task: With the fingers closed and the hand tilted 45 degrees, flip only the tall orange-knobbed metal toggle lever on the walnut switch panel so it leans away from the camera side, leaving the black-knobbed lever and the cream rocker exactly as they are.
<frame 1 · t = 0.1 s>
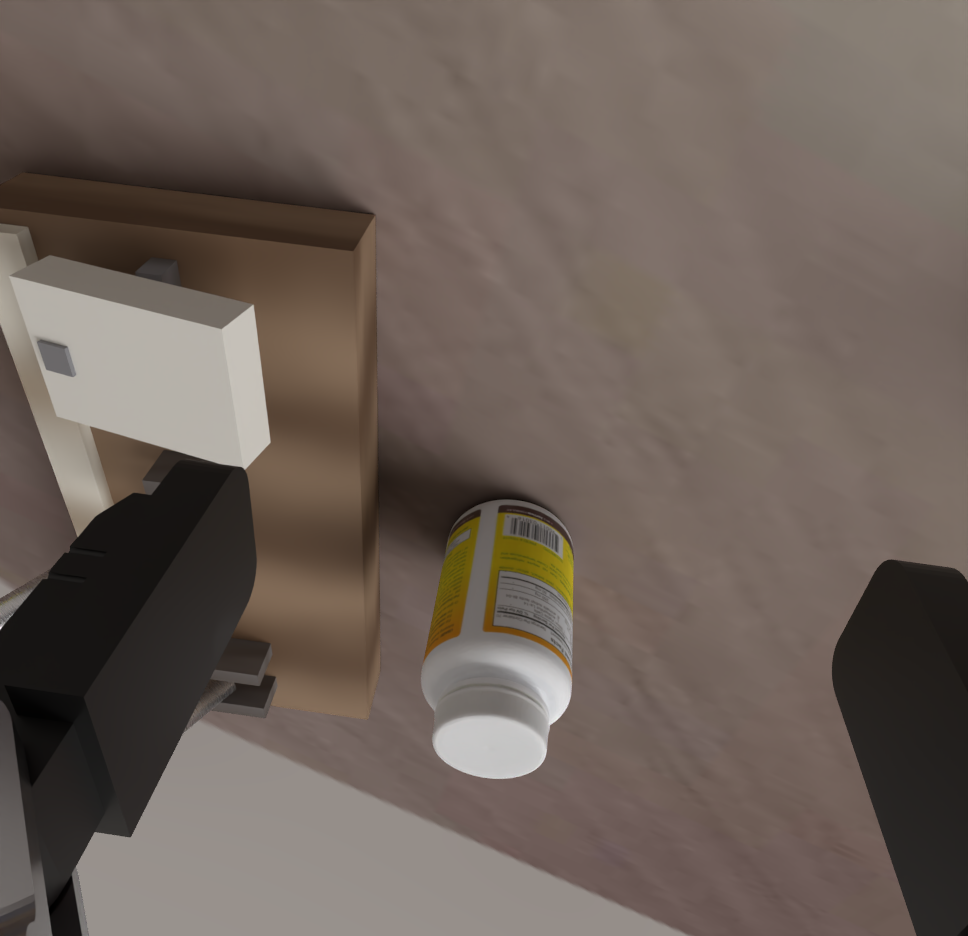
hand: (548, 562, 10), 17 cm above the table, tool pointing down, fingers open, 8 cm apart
supplement bottle: (512, 536, 34), on the table
panel: (243, 479, 33), on the table
rocker: (146, 365, 23), point 5 cm above the table, hinge at 12.0°
lever black: (10, 614, 24), point 10 cm above the table, hinge at -30.0°
lever orange: (94, 787, 31), point 10 cm above the table, hinge at -30.0°
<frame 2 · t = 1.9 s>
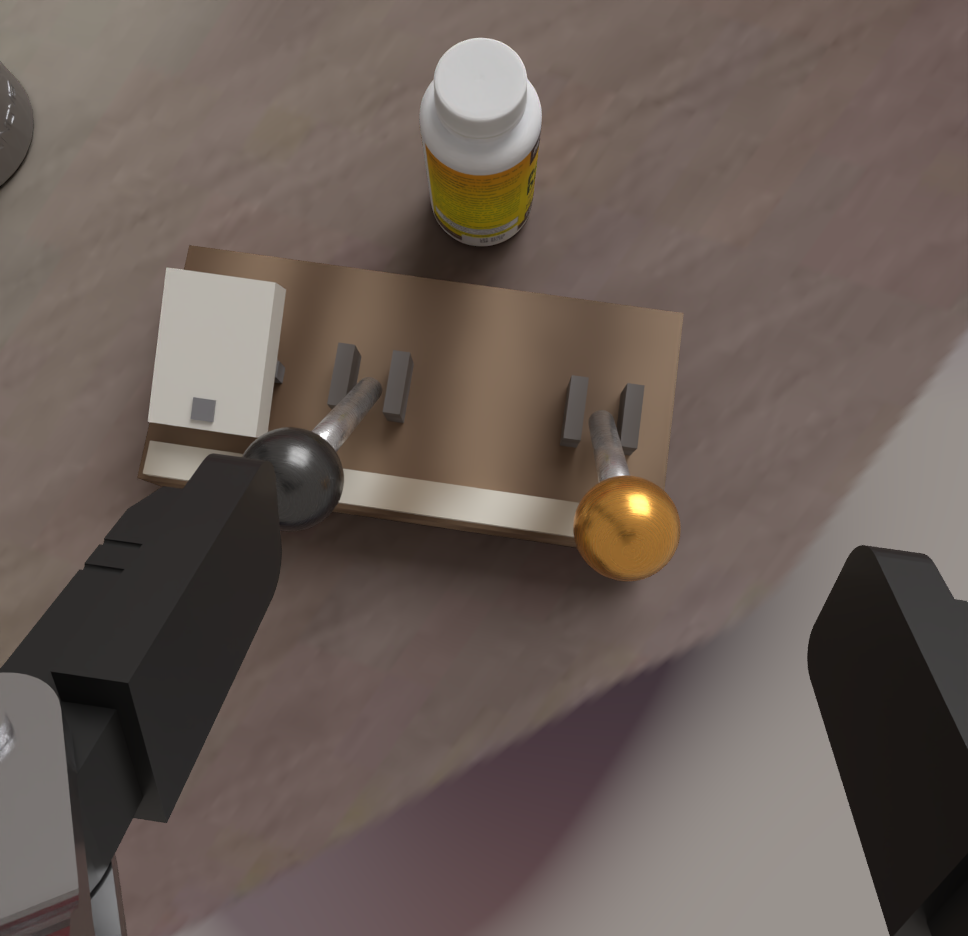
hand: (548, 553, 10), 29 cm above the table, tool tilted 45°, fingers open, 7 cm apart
supplement bottle: (481, 205, 42), on the table
panel: (420, 409, 40), on the table
rocker: (217, 354, 35), point 5 cm above the table, hinge at 12.0°
lever black: (331, 432, 29), point 10 cm above the table, hinge at -30.0°
lever orange: (613, 473, 29), point 10 cm above the table, hinge at -30.0°
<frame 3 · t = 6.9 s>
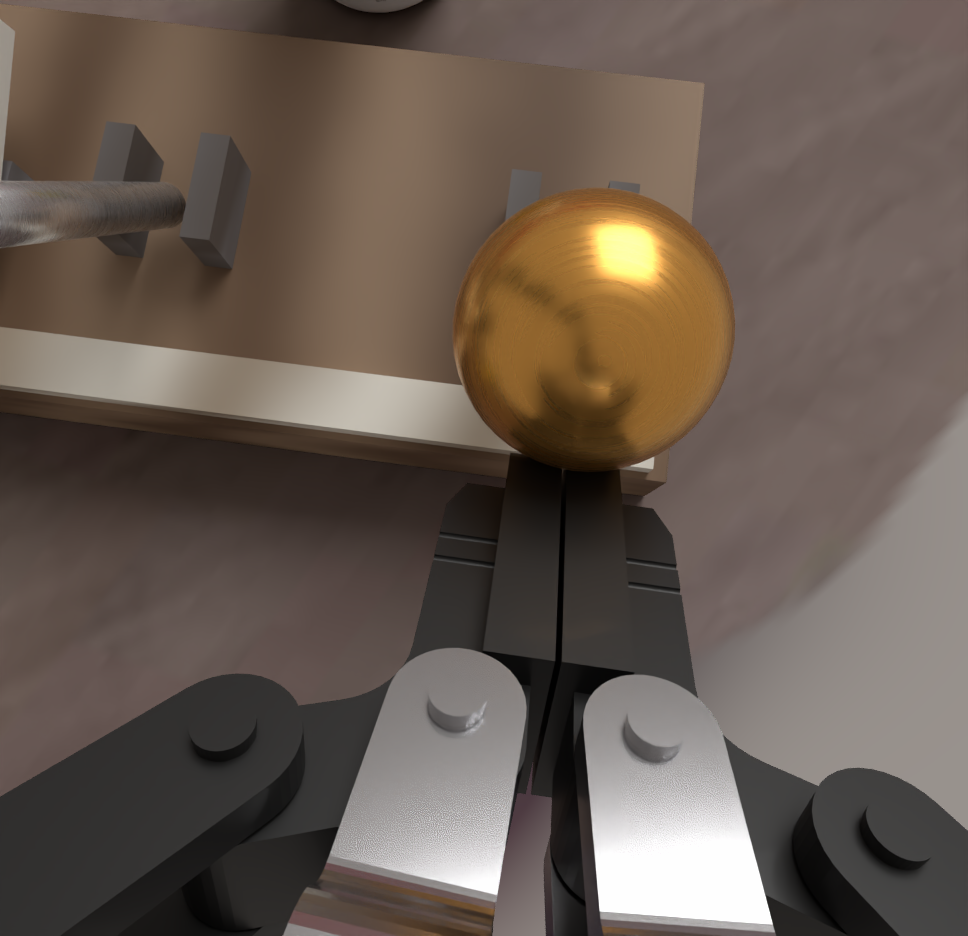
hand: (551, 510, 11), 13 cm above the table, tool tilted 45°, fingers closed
panel: (280, 265, 25), on the table
lever orange: (574, 284, 14), point 10 cm above the table, hinge at -29.9°, touching gripper
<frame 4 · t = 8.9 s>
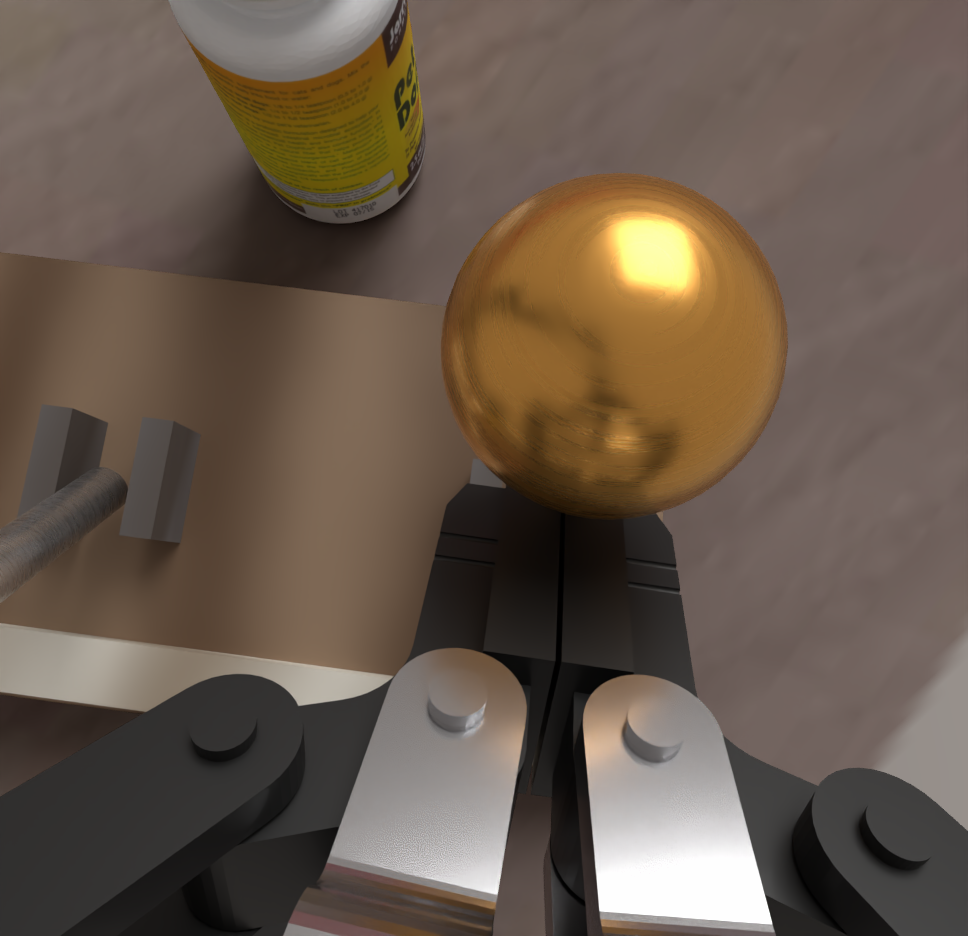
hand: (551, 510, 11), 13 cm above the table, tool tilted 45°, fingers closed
supplement bottle: (346, 155, 26), on the table
panel: (237, 501, 24), on the table
lever orange: (559, 465, 13), point 11 cm above the table, hinge at 4.6°, touching gripper
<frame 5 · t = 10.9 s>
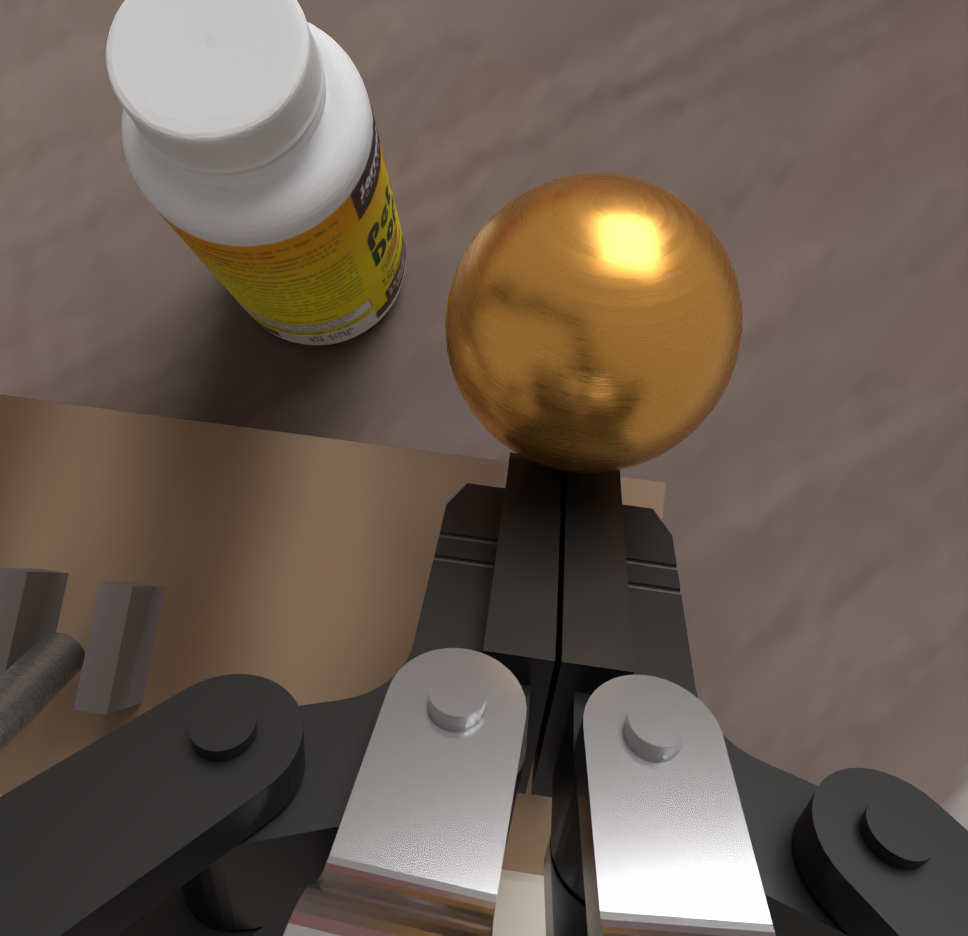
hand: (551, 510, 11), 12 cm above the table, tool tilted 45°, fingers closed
supplement bottle: (324, 270, 25), on the table
panel: (207, 637, 23), on the table
lever orange: (541, 545, 13), point 10 cm above the table, hinge at 27.7°, touching gripper
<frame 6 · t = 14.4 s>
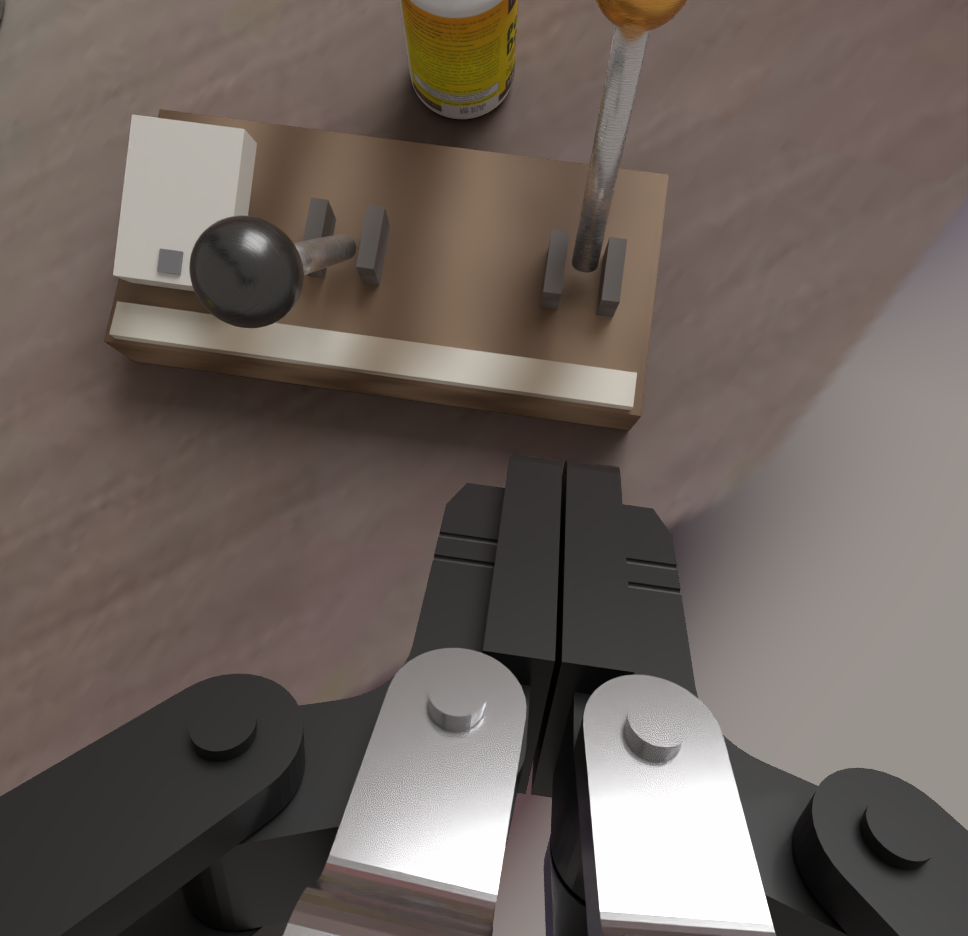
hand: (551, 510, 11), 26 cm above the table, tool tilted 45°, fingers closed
supplement bottle: (462, 80, 41), on the table
panel: (398, 282, 39), on the table
rocker: (185, 207, 34), point 5 cm above the table, hinge at 12.0°
lever black: (297, 259, 28), point 10 cm above the table, hinge at -30.0°
lever orange: (613, 120, 29), point 10 cm above the table, hinge at 28.0°
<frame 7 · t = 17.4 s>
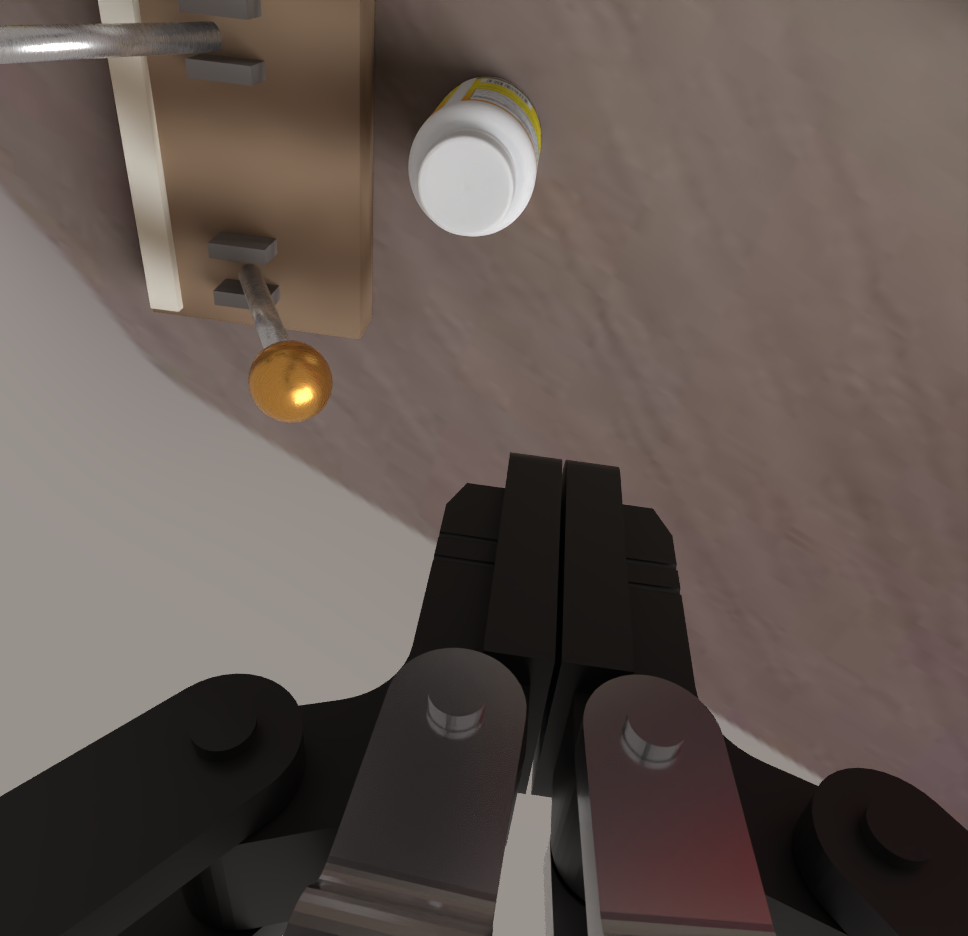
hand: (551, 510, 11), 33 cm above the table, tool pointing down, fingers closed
supplement bottle: (489, 133, 39), on the table
panel: (257, 74, 38), on the table
lever black: (68, 42, 29), point 10 cm above the table, hinge at -30.0°
lever orange: (271, 329, 35), point 10 cm above the table, hinge at 28.0°
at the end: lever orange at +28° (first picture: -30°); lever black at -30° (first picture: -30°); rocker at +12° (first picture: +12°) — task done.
